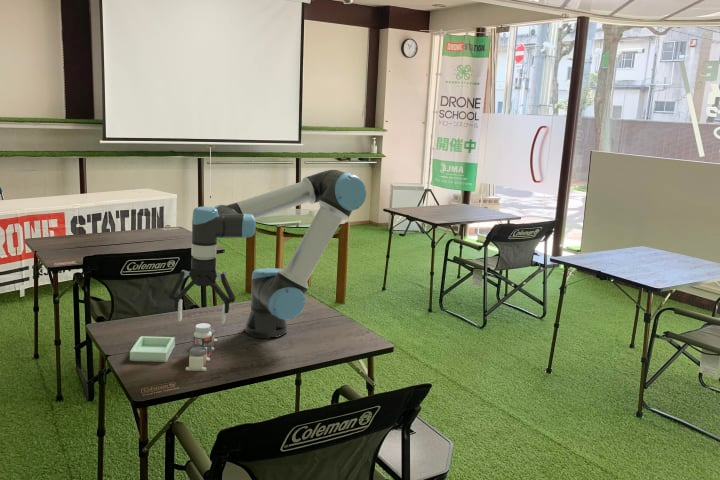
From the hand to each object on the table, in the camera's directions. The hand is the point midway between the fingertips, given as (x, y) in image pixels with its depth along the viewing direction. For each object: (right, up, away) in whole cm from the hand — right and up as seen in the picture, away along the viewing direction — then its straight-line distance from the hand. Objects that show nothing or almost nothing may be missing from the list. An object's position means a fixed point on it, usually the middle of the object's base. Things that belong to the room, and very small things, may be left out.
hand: (201, 321), depth 200 cm
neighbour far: (-1, -9, +10) cm, 14 cm away
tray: (-16, -10, +1) cm, 19 cm away
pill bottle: (0, -11, +3) cm, 12 cm away
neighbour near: (0, -13, -5) cm, 14 cm away
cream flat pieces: (0, -11, +3) cm, 11 cm away
